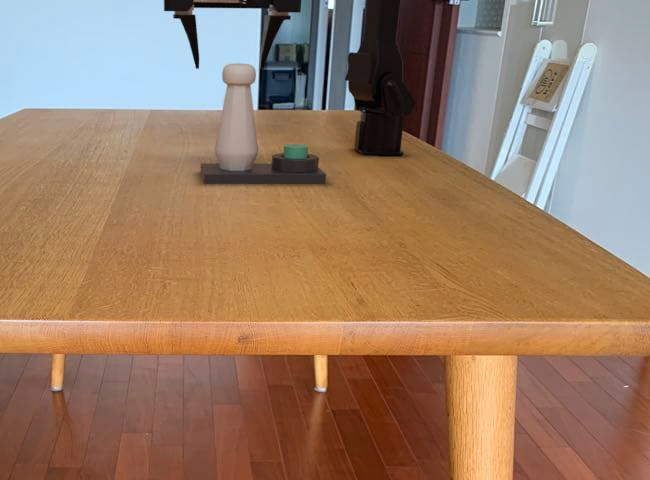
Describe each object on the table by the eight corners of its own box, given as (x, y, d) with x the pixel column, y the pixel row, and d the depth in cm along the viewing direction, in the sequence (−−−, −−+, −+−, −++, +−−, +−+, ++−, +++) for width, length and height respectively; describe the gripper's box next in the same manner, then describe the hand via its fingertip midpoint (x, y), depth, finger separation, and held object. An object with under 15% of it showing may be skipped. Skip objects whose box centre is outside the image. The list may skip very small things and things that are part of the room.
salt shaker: (259, 172, 106) (264, 65, 101) (215, 172, 106) (218, 65, 100) (254, 164, 111) (259, 62, 106) (213, 164, 111) (215, 62, 106)
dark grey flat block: (313, 173, 113) (315, 151, 112) (325, 184, 106) (327, 161, 105) (200, 173, 113) (200, 151, 111) (204, 184, 106) (204, 161, 104)
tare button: (304, 157, 110) (305, 143, 109) (309, 161, 107) (310, 147, 106) (281, 157, 110) (282, 143, 109) (285, 161, 107) (286, 147, 106)
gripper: (292, -52, 116) (285, 65, 123) (162, -53, 116) (163, 64, 123) (305, -57, 106) (297, 70, 113) (164, -59, 106) (164, 69, 113)
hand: (229, 68), depth 116 cm, fingers open, 9 cm apart
